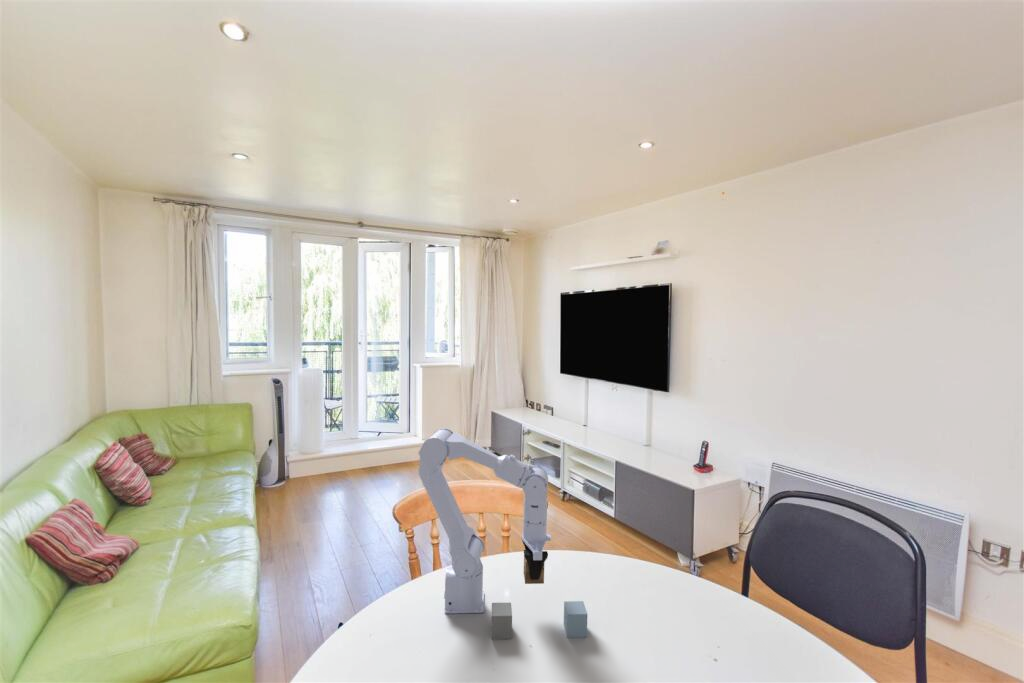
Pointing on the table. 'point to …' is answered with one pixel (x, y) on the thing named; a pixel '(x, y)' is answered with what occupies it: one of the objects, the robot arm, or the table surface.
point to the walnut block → (527, 575)
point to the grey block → (501, 621)
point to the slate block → (575, 619)
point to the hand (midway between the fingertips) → (533, 572)
